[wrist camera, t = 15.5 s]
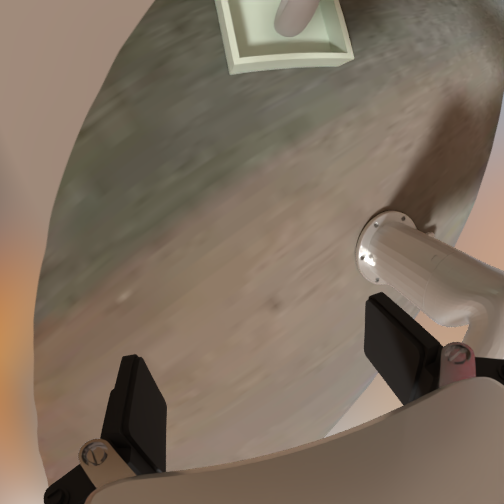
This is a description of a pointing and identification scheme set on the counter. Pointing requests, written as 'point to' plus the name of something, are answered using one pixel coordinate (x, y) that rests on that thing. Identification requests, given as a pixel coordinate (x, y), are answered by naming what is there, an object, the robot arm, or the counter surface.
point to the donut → (294, 16)
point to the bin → (281, 37)
